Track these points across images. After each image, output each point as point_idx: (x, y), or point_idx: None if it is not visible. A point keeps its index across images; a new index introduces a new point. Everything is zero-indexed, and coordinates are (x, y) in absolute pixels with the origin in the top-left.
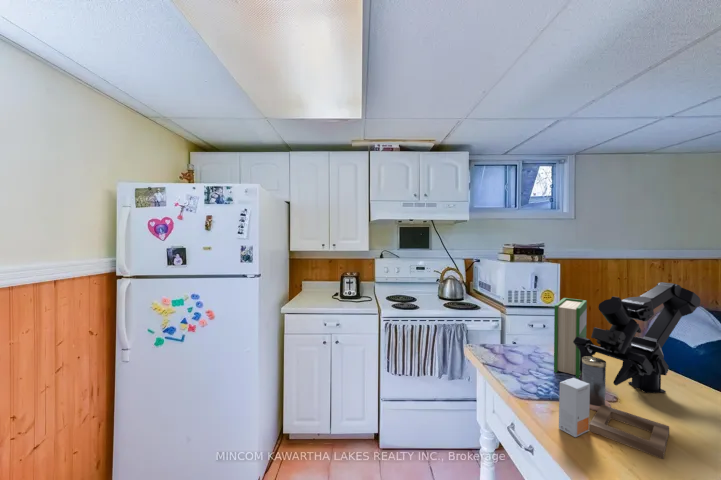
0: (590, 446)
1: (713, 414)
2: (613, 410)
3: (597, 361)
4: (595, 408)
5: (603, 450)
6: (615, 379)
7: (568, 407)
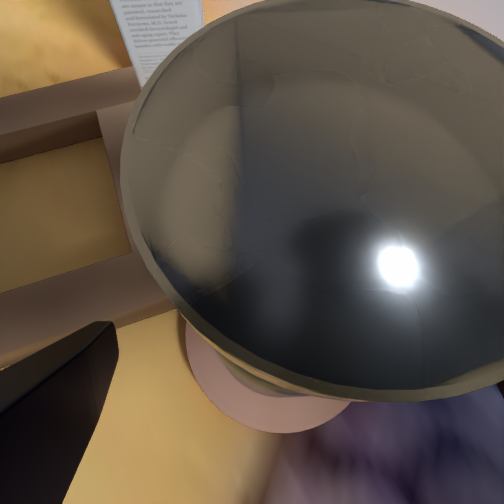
0: (92, 25)
1: None
2: (130, 278)
3: (266, 128)
4: None
5: (58, 39)
6: (82, 342)
7: None
